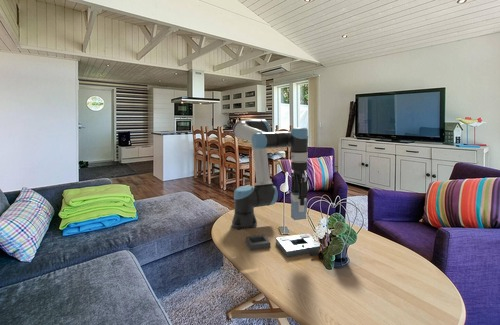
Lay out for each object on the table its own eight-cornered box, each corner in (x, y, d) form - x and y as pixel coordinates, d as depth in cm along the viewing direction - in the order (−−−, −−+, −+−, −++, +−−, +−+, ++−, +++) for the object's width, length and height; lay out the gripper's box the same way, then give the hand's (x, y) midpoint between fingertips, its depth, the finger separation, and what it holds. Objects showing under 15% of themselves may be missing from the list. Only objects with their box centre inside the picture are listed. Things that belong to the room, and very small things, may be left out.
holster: (245, 243, 133) (245, 236, 133) (264, 240, 136) (264, 234, 135) (250, 252, 124) (250, 245, 123) (270, 249, 126) (270, 242, 126)
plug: (290, 217, 124) (290, 193, 123) (302, 215, 126) (302, 192, 124) (294, 220, 120) (294, 195, 119) (306, 218, 122) (307, 194, 120)
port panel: (275, 245, 130) (275, 236, 130) (308, 240, 135) (308, 232, 134) (286, 259, 117) (286, 249, 116) (322, 253, 122) (322, 244, 121)
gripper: (284, 159, 127) (284, 205, 130) (300, 164, 110) (299, 217, 113) (298, 158, 128) (298, 203, 132) (316, 163, 112) (314, 215, 115)
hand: (298, 209), depth 123 cm, fingers closed on plug, 4 cm apart
